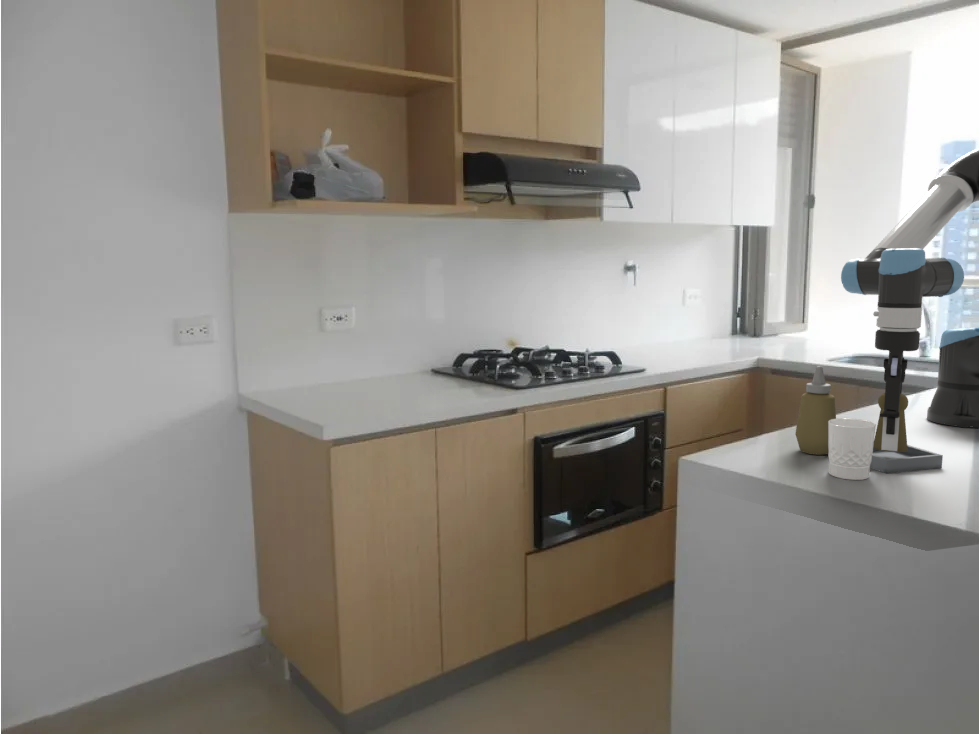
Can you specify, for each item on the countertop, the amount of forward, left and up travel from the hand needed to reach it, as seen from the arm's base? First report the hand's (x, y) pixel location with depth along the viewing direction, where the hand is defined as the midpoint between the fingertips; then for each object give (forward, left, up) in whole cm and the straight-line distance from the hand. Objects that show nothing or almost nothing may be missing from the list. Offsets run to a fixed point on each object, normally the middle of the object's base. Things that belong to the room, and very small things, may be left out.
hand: (890, 446), depth 148 cm
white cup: (+14, +5, -3) cm, 15 cm away
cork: (0, 0, -1) cm, 1 cm away
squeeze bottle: (+8, -11, -3) cm, 14 cm away
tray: (0, 0, -3) cm, 3 cm away
